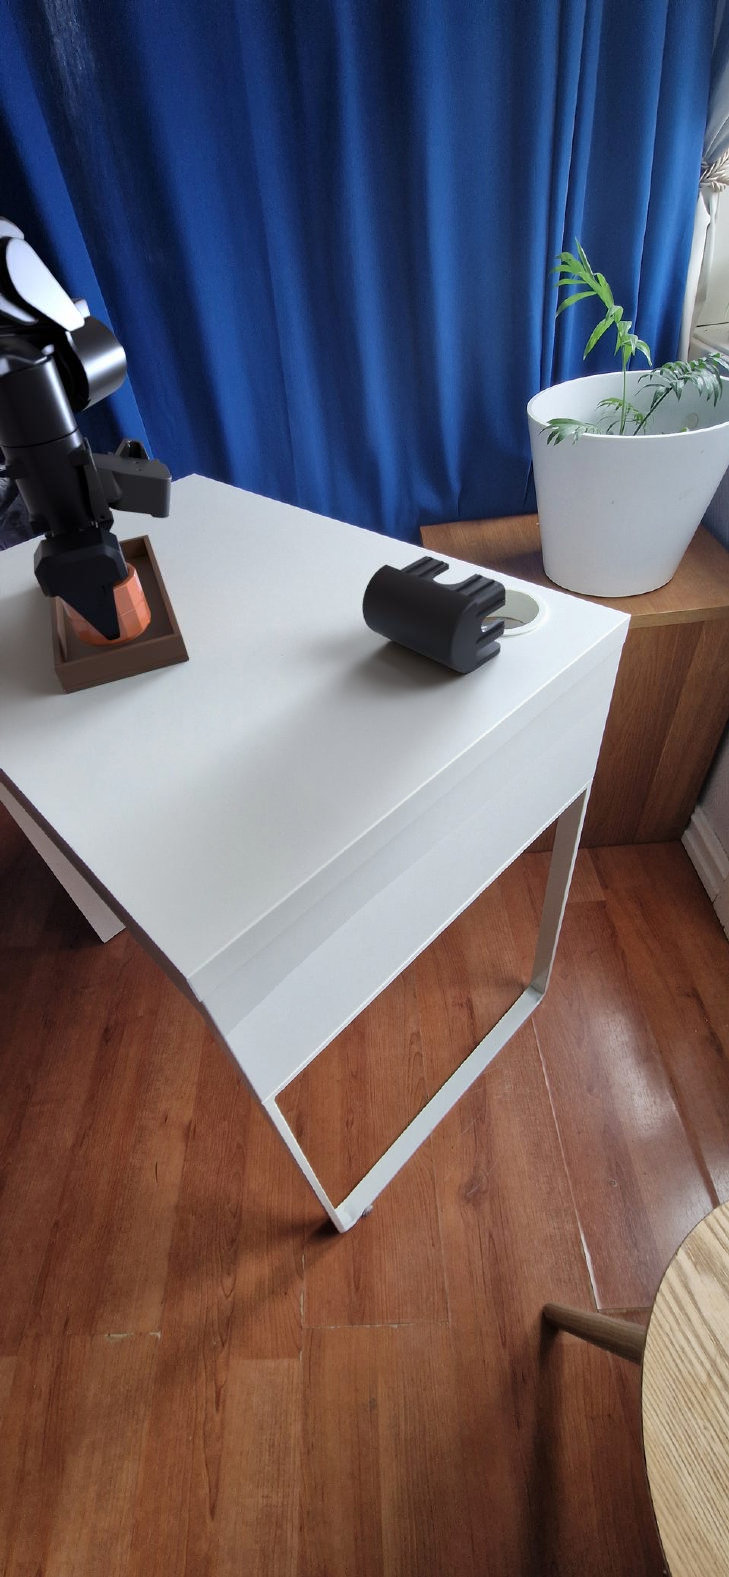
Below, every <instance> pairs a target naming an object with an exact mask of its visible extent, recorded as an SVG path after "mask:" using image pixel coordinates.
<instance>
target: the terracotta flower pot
mask: <svg viewBox="0 0 729 1577" xmlns="http://www.w3.org/2000/svg"><path fill="white" fill-rule="evenodd" d="M125 563H126V562H125ZM126 567H127V571H128V575H129V576H127V577H126V578H124V579H123V580H121V581H117V582H116V583H115V585H114V587H113V590H114V596H115V603H116V609H117V616H118V622H119V628H120V635H121V636H120V638H118V639H114V640H107V639H106V638H105V637H104V636H103V635H102V634H101V633H100V632H99V631H97V630H96V629H95V628H94V627H93V626H92V625H91V624H90V623H89V622H88V621H87V620H85V619H84V618H83V617H82V616H81V615H80V614H79V613H78V612H77V611H75V610H74V609H73V608H72V607H71V606H70V605H68V604H67V603H66V602H65V601H64V600H62V599H61V598H60V599H61V601H62V603H63V606H64V608H65V610H66V613H67V615H68V617H69V619H70V622H71V624H72V626H73V629H74V631H75V633H76V636H77V637H78V638H79V639H80V640H81V641H82V642H85V643H88V644H90V645H93V646H98V647H109V646H115V645H119V644H123V643H126V642H128V641H130V640H132V639H134V638H136V637H137V636H139V635H140V634H141V633H142V632H144V630H145V629H146V627H147V625H148V624H149V623H150V618H151V613H150V610H149V607H148V604H147V602H146V599H145V596H144V593H143V590H142V587H141V584H140V581H139V578H138V575H137V573H136V570H135V568H134V567H133V566H131V565H130V564H129V563H126Z"/></svg>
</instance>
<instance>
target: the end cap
mask: <svg viewBox="0 0 729 1577" xmlns="http://www.w3.org/2000/svg"><path fill="white" fill-rule="evenodd" d="M449 569H450V564H449V563H447V562H445V561H443V560H439V559H436V558H434V557H432V556H428V555H425V556H423V557H420V558H418V559H417V560H415V561H414V562H412V563H409V564H408V565H406V566H404V567H403V568H401V569H400V568H397V567H393V566H391V565H388V564H384V565H382V566H381V567H380V568H378V569H377V571H375V573H374V574H373V575H372V577H371V578H370V580H369V581H368V583H367V585H366V588H365V590H364V594H363V597H362V604H361V605H362V606H361V607H362V609H361V610H362V616H363V620H364V622H365V624H366V626H367V627H368V629H370V630H372V632H375V633H376V634H379V635H381V636H382V637H384V638H387V639H389V640H391V641H393V642H395V643H396V644H399V645H401V646H404V647H405V648H407V649H409V650H412V651H414V652H416V653H418V654H420V655H422V656H424V657H426V658H429V659H431V660H433V661H435V662H437V663H439V664H442V665H443V666H445V667H448V668H449V669H452V670H454V671H456V672H458V673H462V674H465V675H466V674H470V673H472V672H474V671H475V670H477V669H478V668H481V666H483V665H484V664H486V663H488V662H489V661H490V660H492V659H493V658H495V657H496V656H498V655H499V654H500V653H501V643H500V642H498V641H496V640H497V639H499V638H500V637H501V636H503V635H504V633H505V618H503V617H499V618H498V619H496V620H494V621H493V622H491V623H490V624H488V625H484V624H483V622H484V621H485V619H486V618H487V617H489V616H490V615H491V614H493V613H495V612H496V611H498V610H500V609H501V608H503V607H504V606H506V602H507V600H506V592H507V591H506V587H505V585H504V584H503V583H502V582H500V581H498V580H495V579H493V578H489V577H486V576H484V575H482V574H480V573H479V574H478V573H474V574H473V575H471V576H469V577H468V578H466V579H464V580H462V581H459V582H456V583H442V582H441V583H440V582H438V581H436V580H435V578H436V577H438V576H440V575H441V574H443V573H445V572H446V571H448V570H449Z"/></svg>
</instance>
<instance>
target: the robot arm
mask: <svg viewBox="0 0 729 1577" xmlns="http://www.w3.org/2000/svg"><path fill="white" fill-rule="evenodd" d="M127 367H128V362H127V357H126V353H125V350H124V347H123V345H122V344H121V343H120V342H119V339H118V338H117V337H116V335H115V333H114V332H113V331H112V330H111V329H110V327H108V325H107V324H105V323H104V322H103V321H102V320H100V319H98V318H96V317H95V316H92V315H91V312H90V309H89V306H88V303H87V300H86V299H85V298H84V297H77V298H70V297H69V295H68V293H67V292H66V291H65V289H64V288H63V287H62V286H61V285H60V283H59V282H58V281H57V279H56V278H55V277H54V275H53V274H52V273H51V271H50V270H49V268H48V267H47V265H45V263H44V262H43V260H42V259H41V257H39V255H38V254H37V253H36V251H35V249H33V247H32V246H31V245H30V244H29V243H28V242H27V241H26V240H25V234H24V233H23V232H22V230H21V229H20V228H19V227H18V226H17V225H16V224H15V223H14V222H12V221H11V220H9V219H8V218H6V217H4V216H0V448H1V450H2V453H3V455H4V457H5V460H4V461H5V462H4V467H5V470H6V472H7V476H8V477H9V479H10V481H15V484H16V486H17V488H18V490H19V493H20V495H21V497H22V499H23V502H24V504H25V506H26V508H27V512H28V523H29V526H30V528H31V531H32V533H33V534H34V536H36V535H40V534H44V539H41V540H40V541H39V543H38V545H37V547H36V549H35V551H34V552H33V574H34V576H35V578H36V580H37V583H38V586H39V587H40V590H41V592H42V594H43V596H44V597H47V598H50V597H52V598H53V597H57V596H59V597H60V598H61V599H62V600H64V601H65V602H66V603H67V604H68V605H70V606H71V607H72V608H73V609H74V610H75V611H77V612H78V613H79V614H80V615H81V616H82V617H83V618H84V619H85V620H87V621H88V622H89V623H90V624H91V625H92V626H93V627H94V628H95V629H96V630H97V631H99V632H100V633H101V634H102V635H103V636H104V637H105V638H106V639H107V640H114V639H118V638H120V636H121V635H120V628H119V622H118V616H117V609H116V603H115V596H114V590H113V587H114V585H115V583H116V582H117V581H121V580H123V579H124V578H126V577H127V576H129V575H128V571H127V567H126V563H125V560H124V557H123V553H122V550H121V547H120V545H119V539H118V536H117V534H115V533H113V532H112V531H111V529H112V528H113V525H114V523H115V518H114V515H113V511H112V510H114V511H118V512H126V513H135V514H143V515H150V516H151V517H152V518H155V519H167V518H168V517H169V516H170V510H171V509H170V508H171V504H170V503H171V492H172V474H171V472H170V470H169V468H168V466H167V464H165V463H163V462H161V460H160V459H159V458H153V459H150V457H149V455H148V452H147V450H146V448H145V445H144V442H143V441H142V440H140V439H134V438H128V437H124V438H123V439H122V441H121V443H120V444H119V446H118V448H117V450H116V451H115V452H113V451H108V453H107V454H104V453H95V452H92V449H91V446H90V442H89V440H88V438H87V436H85V437H84V436H83V435H82V433H81V432H80V430H79V427H78V423H77V421H76V418H75V414H78V413H82V412H83V411H86V409H89V408H90V407H91V406H93V405H95V404H97V403H98V402H100V401H101V400H103V399H105V398H106V397H108V396H109V395H111V394H113V393H114V392H116V391H117V390H118V389H120V388H121V387H122V386H123V383H124V382H125V380H126V377H127V370H128V368H127Z"/></svg>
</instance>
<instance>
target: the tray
mask: <svg viewBox="0 0 729 1577" xmlns="http://www.w3.org/2000/svg"><path fill="white" fill-rule="evenodd" d="M118 542H119V545H120V547H121V550H122V553H123V557H124V560H125V562H126V563H129V564H130V565H131V566H133V567H134V568H135V570H136V573H137V575H138V578H139V581H140V584H141V587H142V590H143V593H144V596H145V599H146V602H147V604H148V607H149V610H150V613H151V618H150V623H149V624H148V625H147V627H146V629H145V630H144V632H142V633H141V634H140V635H139V636H137V637H136V638H134V639H132V640H130V641H128V642H126V643H123V644H119V645H115V646H109V647H98V646H93V645H90V644H88V643H85V642H82V641H81V640H80V639H79V638H78V637H77V636H76V633H75V631H74V629H73V626H72V624H71V622H70V619H69V617H68V615H67V613H66V610H65V608H64V606H63V603H62V601H61V599H60V597H59V596H57V597H53V598H52V597H49V603H50V604H49V605H50V618H51V619H50V620H51V623H50V624H51V636H52V640H51V641H52V653H53V654H52V656H53V670H54V672H55V674H56V676H57V678H58V681H59V683H60V685H61V687H62V689H63V691H64V693H65V694H71V693H75V692H78V691H82V690H86V689H89V688H92V687H96V686H100V685H104V684H107V683H111V682H115V681H118V680H121V679H126V678H128V677H134V676H136V675H140V674H143V673H147V672H150V671H154V670H158V669H162V668H165V667H170V666H172V665H176V664H180V663H183V662H188V661H190V655H189V653H188V650H187V646H186V644H185V641H184V637H183V634H182V630H181V628H180V625H179V622H178V619H177V617H176V613H175V610H174V608H173V605H172V602H171V598H170V596H169V593H168V592H169V591H168V589H167V587H166V584H165V581H164V578H163V575H162V572H161V568H160V566H159V563H158V560H157V557H156V554H155V552H154V551H155V550H154V548H153V545H152V543H151V539H150V537H149V534H144V535H140V536H136V537H135V536H134V537H131V538H127V539H124V540H118Z"/></svg>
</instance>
